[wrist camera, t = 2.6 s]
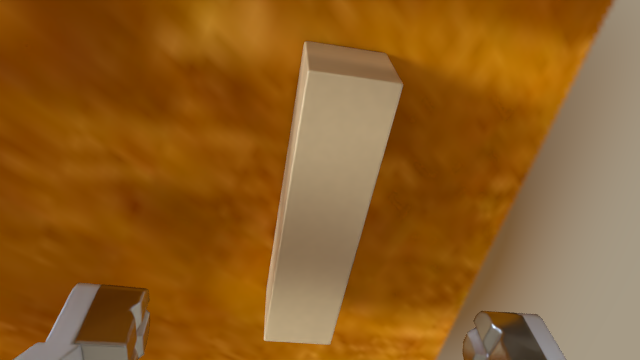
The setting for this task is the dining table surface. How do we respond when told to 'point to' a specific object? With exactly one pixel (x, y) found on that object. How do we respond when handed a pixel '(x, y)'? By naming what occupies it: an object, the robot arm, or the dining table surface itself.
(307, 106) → the beige rectangular block
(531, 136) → the dining table surface
